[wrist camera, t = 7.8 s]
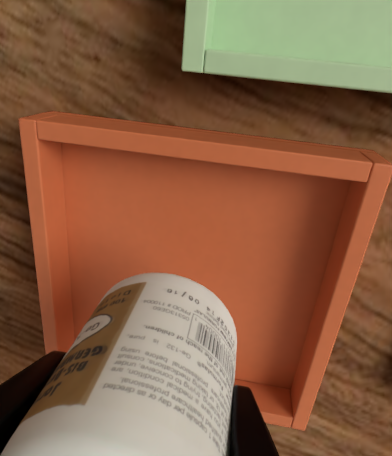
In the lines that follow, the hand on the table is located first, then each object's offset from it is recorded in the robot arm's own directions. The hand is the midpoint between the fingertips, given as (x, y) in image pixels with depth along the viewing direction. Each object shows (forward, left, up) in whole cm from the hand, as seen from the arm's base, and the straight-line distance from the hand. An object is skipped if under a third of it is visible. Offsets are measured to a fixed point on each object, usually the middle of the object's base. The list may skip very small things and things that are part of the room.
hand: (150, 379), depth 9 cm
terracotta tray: (0, 0, -6) cm, 6 cm away
